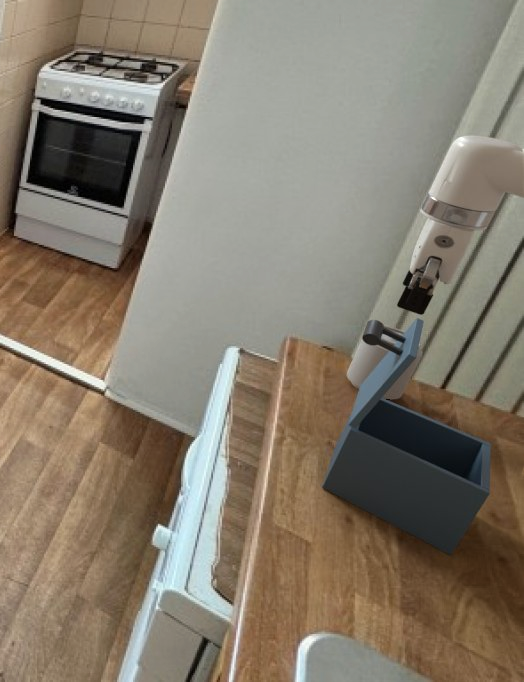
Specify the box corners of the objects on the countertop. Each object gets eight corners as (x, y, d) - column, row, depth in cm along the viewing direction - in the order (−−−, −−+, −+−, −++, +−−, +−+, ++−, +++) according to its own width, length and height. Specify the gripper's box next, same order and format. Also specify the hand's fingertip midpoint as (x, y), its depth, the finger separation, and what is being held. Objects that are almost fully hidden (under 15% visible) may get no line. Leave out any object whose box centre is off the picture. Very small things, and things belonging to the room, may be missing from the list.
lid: (424, 320, 87) (379, 300, 90) (416, 357, 80) (368, 334, 83) (366, 388, 94) (327, 368, 97) (354, 428, 86) (312, 405, 89)
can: (404, 392, 110) (431, 339, 105) (393, 409, 106) (421, 355, 101) (351, 368, 116) (375, 316, 111) (339, 383, 112) (362, 331, 107)
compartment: (455, 502, 89) (491, 443, 85) (450, 555, 82) (489, 493, 77) (335, 445, 98) (362, 389, 94) (321, 487, 91) (350, 429, 87)
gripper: (490, 237, 89) (440, 331, 95) (491, 204, 100) (445, 290, 106) (419, 219, 94) (376, 308, 100) (427, 188, 105) (388, 271, 111)
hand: (412, 299), depth 103 cm, fingers open, 9 cm apart
